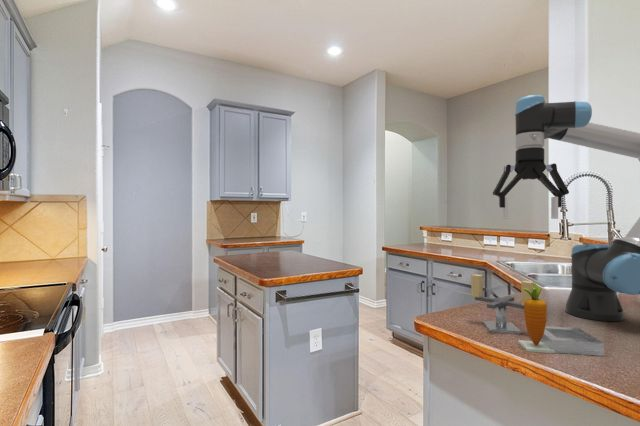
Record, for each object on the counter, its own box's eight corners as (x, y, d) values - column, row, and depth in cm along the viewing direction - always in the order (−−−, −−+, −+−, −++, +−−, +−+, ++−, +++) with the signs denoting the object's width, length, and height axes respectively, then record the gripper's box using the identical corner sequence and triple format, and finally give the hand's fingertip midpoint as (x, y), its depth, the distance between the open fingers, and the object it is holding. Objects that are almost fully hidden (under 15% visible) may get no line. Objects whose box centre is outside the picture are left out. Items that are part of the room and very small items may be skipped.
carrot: (540, 350, 84) (538, 287, 84) (520, 343, 88) (519, 283, 89) (552, 346, 86) (551, 285, 86) (532, 340, 91) (531, 282, 91)
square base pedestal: (511, 325, 105) (511, 301, 105) (521, 334, 97) (521, 308, 97) (482, 323, 107) (482, 300, 107) (489, 332, 99) (489, 307, 99)
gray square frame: (579, 339, 93) (579, 328, 93) (603, 356, 82) (603, 343, 82) (533, 336, 95) (533, 325, 95) (551, 352, 84) (551, 339, 84)
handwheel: (461, 303, 103) (461, 277, 103) (483, 295, 113) (483, 272, 113) (522, 315, 91) (522, 286, 91) (541, 305, 100) (541, 279, 100)
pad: (543, 344, 90) (543, 341, 90) (554, 353, 84) (554, 350, 84) (518, 342, 91) (518, 340, 91) (527, 351, 85) (527, 348, 85)
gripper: (488, 147, 106) (488, 218, 106) (582, 144, 101) (582, 218, 101) (482, 152, 113) (482, 218, 113) (569, 149, 108) (569, 218, 108)
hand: (529, 218), depth 107 cm, fingers open, 13 cm apart
